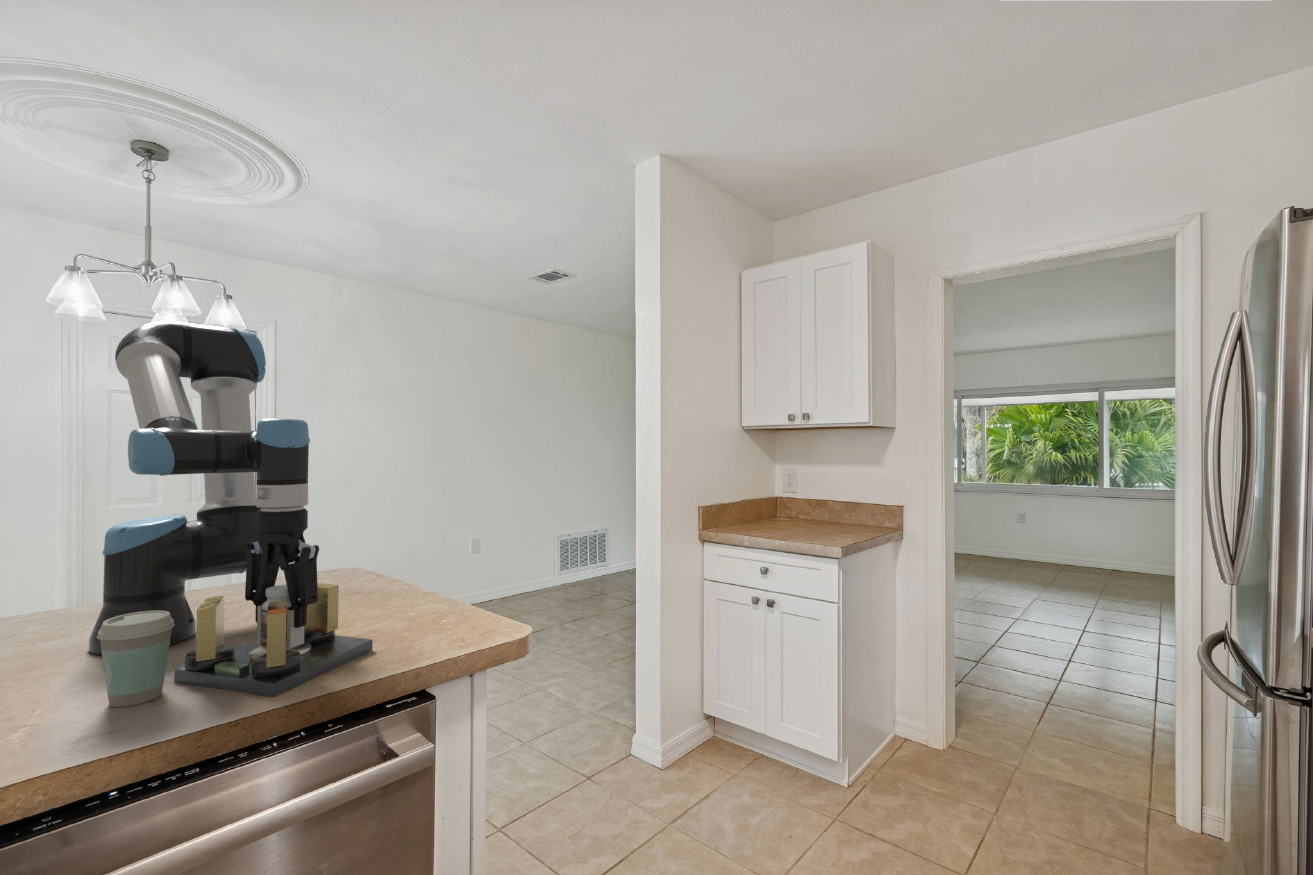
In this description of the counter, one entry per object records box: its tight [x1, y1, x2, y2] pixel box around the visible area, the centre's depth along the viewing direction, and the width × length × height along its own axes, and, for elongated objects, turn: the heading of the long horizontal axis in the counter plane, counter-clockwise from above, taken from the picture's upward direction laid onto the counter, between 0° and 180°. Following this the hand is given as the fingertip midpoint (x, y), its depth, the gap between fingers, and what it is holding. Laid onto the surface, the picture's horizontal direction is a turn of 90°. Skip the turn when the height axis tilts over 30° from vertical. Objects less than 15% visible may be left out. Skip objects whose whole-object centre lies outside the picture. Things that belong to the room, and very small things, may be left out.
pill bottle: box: [261, 583, 300, 650], centre depth 98 cm, size 6×6×10 cm
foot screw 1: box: [184, 595, 235, 672], centre depth 93 cm, size 8×6×10 cm
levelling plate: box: [173, 634, 373, 698], centre depth 98 cm, size 20×20×3 cm
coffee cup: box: [97, 611, 175, 708], centre depth 85 cm, size 9×8×12 cm
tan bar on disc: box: [252, 600, 300, 679], centre depth 91 cm, size 8×6×11 cm
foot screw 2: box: [299, 582, 340, 645], centre depth 105 cm, size 8×6×10 cm
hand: (280, 643), depth 98 cm, fingers closed on pill bottle, 6 cm apart
